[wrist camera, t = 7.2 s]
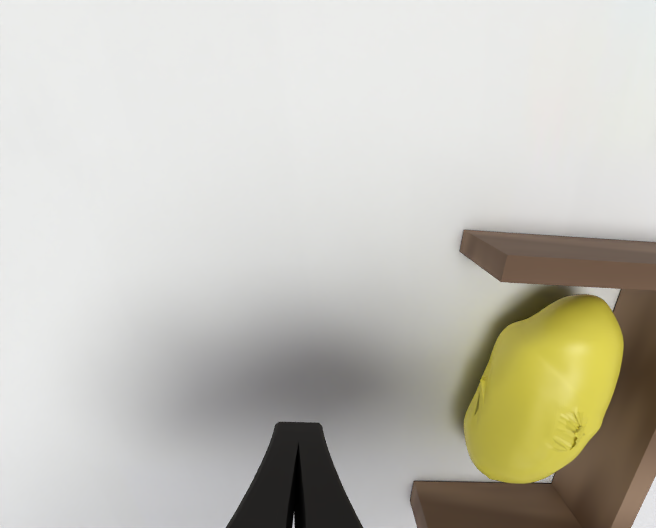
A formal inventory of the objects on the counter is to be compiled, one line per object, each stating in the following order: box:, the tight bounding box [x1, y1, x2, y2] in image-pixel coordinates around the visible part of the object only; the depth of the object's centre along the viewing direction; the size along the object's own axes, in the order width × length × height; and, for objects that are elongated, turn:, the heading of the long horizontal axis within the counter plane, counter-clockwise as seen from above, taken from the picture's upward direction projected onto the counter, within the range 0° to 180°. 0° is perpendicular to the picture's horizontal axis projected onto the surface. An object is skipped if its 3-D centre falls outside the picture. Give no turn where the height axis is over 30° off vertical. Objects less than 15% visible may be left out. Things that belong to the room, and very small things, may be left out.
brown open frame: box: [410, 230, 656, 528], centre depth 16 cm, size 25×10×3 cm, turn 176°
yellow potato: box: [464, 294, 624, 484], centre depth 13 cm, size 4×8×4 cm, turn 157°
